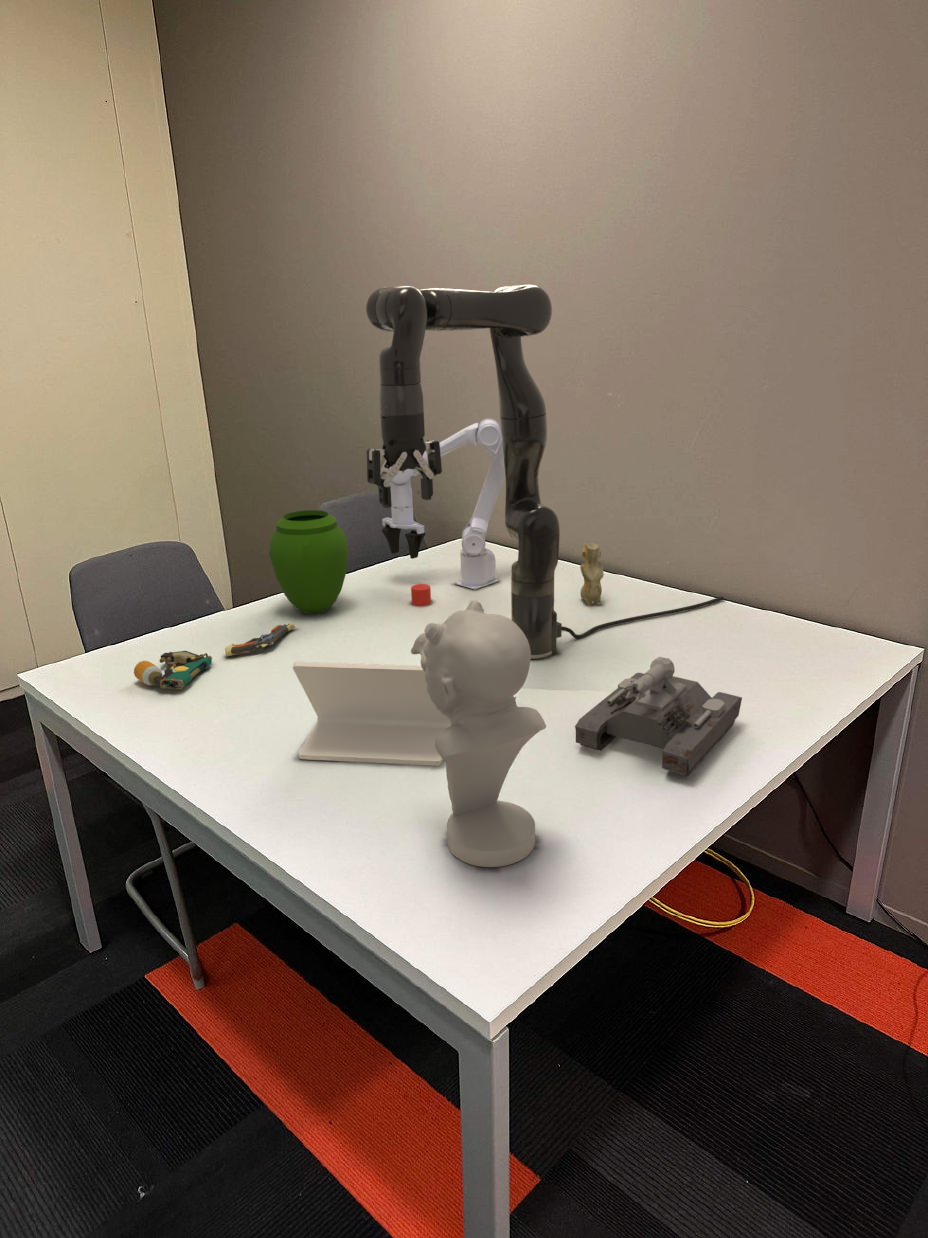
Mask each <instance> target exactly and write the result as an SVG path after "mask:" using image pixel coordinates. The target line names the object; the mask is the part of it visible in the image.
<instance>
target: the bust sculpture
mask: <svg viewBox="0 0 928 1238" xmlns="http://www.w3.org/2000/svg"><path fill="white" fill-rule="evenodd" d="M530 653H531V652H530V646H529V643H528V640H527V638H526V636H525V634H524V633H523V632H522V630H521V629H520V628H519V627H518V626H517V625H516V624H515V623H514V622H513V621H512V620H511V618H508V617H507V616H504V615H503V614H502V615H501V614H496V613H485V609H484V607H483V605H482V603H481V602H480V601H478V600H473V599H472V600H470V601H469V603H468V605H467V607H466V609H460V610H457V611H455V612H453V613H451V615H449V616H448V617H447V618H446V619H445V620H444V622H442V624H441V623H435V622H430V623H428V624H427V625H426V626H425V628H424V632H423V633H421V634H419V635H418V636H417V637H416V638H415V640H414V642H413V645H412V647H411V649H410V654H412V655H420V666H421V667H422V669H423V670H424V671H425V681H426V683H427V691H428V693H429V695H430V698H431V701H432V702H433V703H434V704H435V706H436V708H437V709H438V710H439V711H440V712H441V713H442V714H443V715H446V716H447V717H448V718H449V719H450V720H451V726H450V727H448V728H446V729H445V730H443V731H442V732H441V733H440V734H439V735H438V736H437V737H436V740H435V747H436V750H437V752H438V753H439V755H440V756H441V758H442V759H443V760H442V762H444V763H445V771H446V781H447V790H448V796H449V800H450V803H451V810H452V813H451V814H450V815H449V817H448V819H447V822H446V844H447V847H448V849H449V851H450V852H451V854H452V855H453V856H454V857H456V858H457V859H459V860H460V861H462V862H463V863H466V864H469V865H471V866H476V867H483V868H498V867H505V866H509V865H512V864H517V862H520V861H521V860H523V859H525V858H527V856H528V855H530V854H531V852H532V851H533V849H535V848H534V847H535V845H536V822H535V821H536V820H535V819H534V817H533V816H532V814H531V813H530V812H529V811H528V810H526V809H525V808H524V807H522V806H520V805H517V804H515V803H513V802H509V801H504V800H499V796H500V793H501V790H502V788H503V785H504V783H505V780H506V778H507V776H508V773H509V771H510V769H511V768H512V765H513V763H514V761H515V760H516V759H517V756H518V755H519V753H520V752H521V750H522V749H523V748H524V747H525V745H526V744H527V743H528V742H529V741H530V740H531V739H532V738H533V737H535V735H537V734H538V733H539V732H541V731H544V730H545V729H546V728H547V725H546V723H545V720H544V718H543V717H542V714H541V713H540V712H539V711H538V710H537V709H535V708H533V707H530V706H518V705H517V701H516V699H517V698H516V696H515V695H516V694H517V693H519V691H521V689H522V688H523V686H524V684H525V683H526V680H527V678H528V675H529V669H530V666H531V659H530V656H531V655H530Z"/></svg>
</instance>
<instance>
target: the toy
mask: <svg viewBox="0 0 928 1238" xmlns="http://www.w3.org/2000/svg"><path fill="white" fill-rule="evenodd" d="M649 665H650V666H649V669H648V670H647V671H645V672H644V673H643V672H636V673H634V674H633V675H632V676H631V677H628V678H624V679H623V680H622V681H620V682H619V683H618V684H617V688H616V689H614V691H612V692H611V693H610V694H609V695H607V696H606V697H605V698H603V699H602V700H601V701H600V702H598V703H597V704H595V706H593V707H592V708H591V709H590V710H589V711H587V712H586V713H585V714H583V716H581V717H580V718H579V719H578V721H577V722H576V724H575V725H574V729H575V743H577V744H579V746H582V747H586V748H588V749H592V750H595V751H598V752H602V751H603V750H604V749H605V748H606V747H607V746H609V745H610V744H612V742H613V741H614V740H615V739H616V738H621V739H625V740H629V741H632V742H635V743H638V744H642V745H646V746H648V747H649V746H650V747H652V748H656V749H660V750H662V759H661V769H663V770H666V771H669V772H673V773H676V774H679V775H683V776H687V777H689V776H690V775H691V774H692V772H694V771H695V769H696V768H697V767H698V766H699V765H700V763H701V762H702V761H703V760H704V759H705V758H706V757H707V756H708V754H709V753H710V752H712V750H713V749H714V748H715V746H717V744H719V742H720V741H721V740H722V739H723V737H724V736H725V735H726V734H727V733H728V732H729V731H730V729H732V727H733V726H734V725H735V722H736V719H738V717H739V715H740V711H741V706H742V700H743V697H742V696H738V695H735V694H730V693H726V692H721V691H718V692H716V693H715V694H714V695H713V696H711V695H710V694H709V692H707V690H705V688H704V687H703V686H702V685H701V684H700V683H699V682H698V681H695V680H692V679H687V678H683V677H678V676H674V675H675V673H676V672H675V664H674V661H672V660H671V659H670V658H669V657H663V656H662V657H661V656H658V657H656V658H655V659H654V660H652V661H651V663H650V664H649Z"/></svg>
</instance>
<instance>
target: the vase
mask: <svg viewBox="0 0 928 1238" xmlns="http://www.w3.org/2000/svg"><path fill="white" fill-rule="evenodd" d="M275 527H276V529H275V530H274V532H273V534H272V535H271V536H270V541H269V551H268V554H269V558H270V561H271V565H272V569H273V572H274V576H275V578H276V580H277V582H278V584H279V586H280V589H281V590H282V592H283V595H284V596H285V597H286V599H287V600H288V601H289V603H290V604H291V605H292V606H293V607H294V608H295V609H296V610H297V611H299V612H301V613H303V614H308V615H309V614H310V615H311V614H312V615H314V614H321V613H324V612H327V611H328V610H330V609H331V608H332V607H333V605H334V604H336V601H338V600H337V599H338V598H339V596H340V594H341V592H342V589H343V585H344V582H345V580H346V579H345V578H346V575H347V571H348V560H349V559H348V558H349V543H348V540H347V536H346V533H345V531H344V530H343V529H342V527H340V526H339V525H338V519H337V518H336V517H334V516H333V515H331V514H330V513H329V512H327V511H324V510H316V509H308V510H298V511H291V512H289V513H286V514H284V515H283V516H282V517H281V518H280V519H279V520H277V521H276V523H275Z"/></svg>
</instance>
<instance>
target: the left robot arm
mask: <svg viewBox="0 0 928 1238" xmlns="http://www.w3.org/2000/svg"><path fill="white" fill-rule="evenodd" d="M439 443H440V454H441V457H444V456H445V455H447V454H450V453H451V452H453V451H455V450H457V449H459V448H461V447H464V446H466V445H467V446H475V447H477V445H478V444H479V445H480V446H481V447H482V448H484V449H485V451H487V454H488V455H489V457H490V460H491V462H490V465H489V467H488V470H487V473H486V476H485V478H484V481H483V485H482V488H481V490H480V493H479V496H478V499H477V502H476V504H475V507H474V511H473V513H472V516H471V517H470V519H469V522H468V523H467V525H466V526H465V527H464V528H463V529H462V532H461V548H462V549H460V553H459V555H460V579H459V580H457V581H454V585H457V586H461V587H464V588H468V589H471V590H478V589H481V588H483V587H486V586H489V585H492V584H495V583H497V582H499V579H497V575H496V574H497V573H496V572H497V569H496V557H495V554H494V552H493V551H492V550H491V549H490V548H486V536H487V535H486V534H487V532H488V527H489V523H490V520H491V518H492V514H493V511H494V509H495V506H496V503H497V500H498V497H499V495H500V492H501V489H502V486H503V483H504V481H505V479H506V477H505V467H504V455H503V443H502V435H501V424H499V422H498V421H496V420H495V419H494V418H484V419H482V420H481V421H480V422H475V423H472V424H471V425H468V426H465V427H464V428H462V429H461V430H459V431H458V432H456V433H454V434H452V435H450V436H449V437H447V438H446V439H444V440H442V441H439ZM477 443H478V444H477ZM422 457H423V458H424V460H425V461H426V463H427V464H428V456H427V453H426V451H425V452H424V454H423V456H422ZM391 468H392V467H390V469H391ZM418 475H420V474H419V472H418V471H417V470H416V469H407V470H405V471H398V473H397V475H396V476H394V477H393V479H392V481H391V483H390V484H389V487H391V503H392V507H390V509H391V511H390V512H391V517H384V518H382V519H381V521H382V523H381V524H382V526H383V527H384V528H381V532H382V534H383V535H384V537H385V539H386V541H387V543H388V547H389V549H390V553H391V554H392V555H393V554H397V553H399V552H400V536H401V531H402V530H403V531H409V532H408V533H404V536H405V539H406V541H407V545H408V551H409V553H408V554H409V557H410V559H411V560H412V559H417V558H418V557H419V553H420V548H421V544H422V543H423V539H424V538H425V536H426V531H425V525H424V524H422V523H421V524H420V523H419V522H417V521H415V520H414V503H413V488H412V483H411V482H412V481H411V478H412V477H416V476H418Z"/></svg>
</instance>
